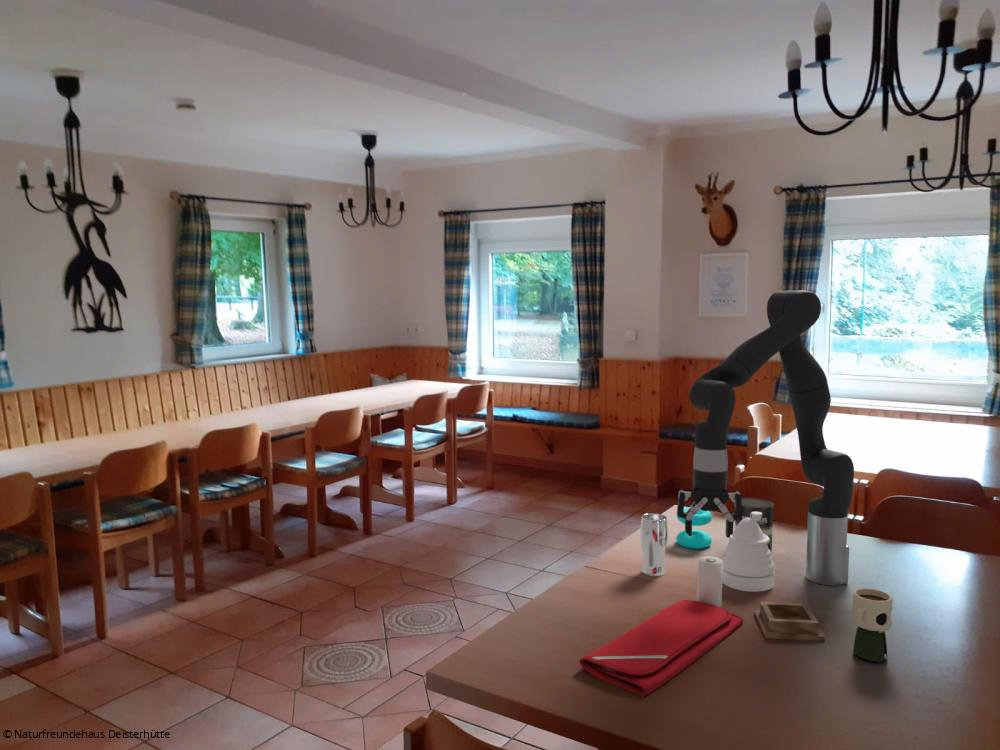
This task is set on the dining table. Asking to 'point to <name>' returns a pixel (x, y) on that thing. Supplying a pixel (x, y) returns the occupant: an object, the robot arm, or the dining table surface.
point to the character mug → (871, 622)
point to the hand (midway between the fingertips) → (708, 535)
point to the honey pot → (748, 558)
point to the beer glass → (653, 543)
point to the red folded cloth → (661, 646)
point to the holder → (788, 621)
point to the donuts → (695, 531)
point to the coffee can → (766, 519)
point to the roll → (710, 580)
